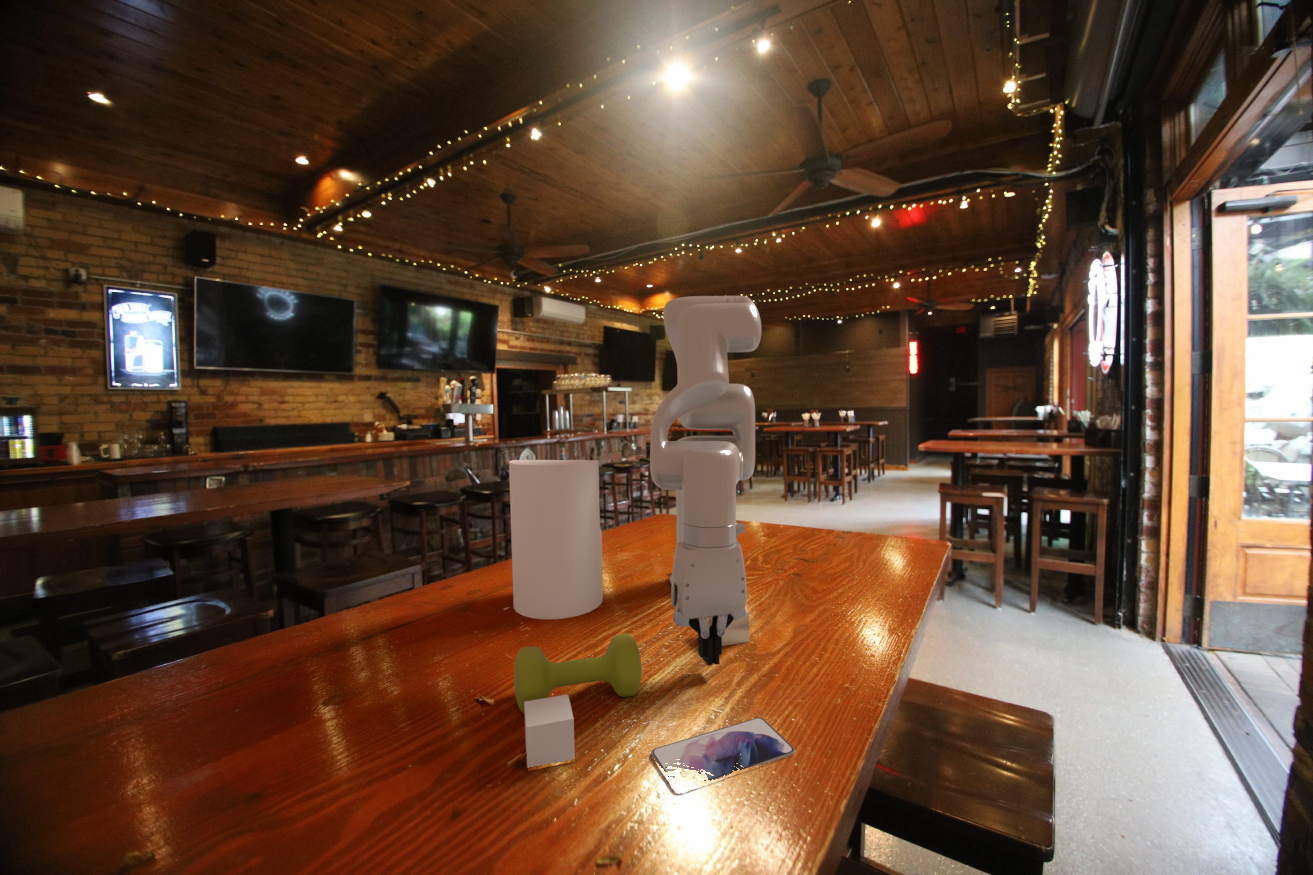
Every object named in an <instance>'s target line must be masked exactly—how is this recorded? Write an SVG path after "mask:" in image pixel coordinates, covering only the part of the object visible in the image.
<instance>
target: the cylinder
mask: <svg viewBox="0 0 1313 875" xmlns="http://www.w3.org/2000/svg"><path fill="white" fill-rule="evenodd" d="M599 463H600V462H599V460H597V459H596V460H595V459H594V460H593V459H592V460H591V459H585V460H583V459H579V460H578V459H512V460H509V461H508V472H509V474H508V475H509V501H510V502H509V503H510V504H509V505H510V533H511V538H510V539H511V559H512V560H511V565H512V569H511V570H512V595H513V596H512V599H513V602H512V603H513V609H514V611H515V612H516V613H518V614H520V616H521V615H522V616H523V617H526V618H530V619H538V620H560V619H561V620H562V619H568V618H574V617H578V616H581V615H586V614H588V613H590V612H593V610H594V611H595V609H597V608H599V607H600V605H601V604H603V601H604V594H603V593H604V588H603V586H604V584H603V581H604V580H603V541H602V539H603V537H602V536H603V535H602V532H603V531H602V529H601V525H600V523H601V520H600V519H601V518H600V517H601V515H600V514H601V512H600V508H601V507H600V471H599V468H600V466H599V465H600V464H599Z"/></svg>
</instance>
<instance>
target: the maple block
mask: <svg viewBox="0 0 1313 875" xmlns="http://www.w3.org/2000/svg"><path fill="white" fill-rule="evenodd" d="M745 611H746V615H745V616H744V617H742V618H739V619H737V620H733V621H732V622H731V624H730V625H729V626H728V627H727V628H726V630H725V634H724V635H723V636H722V647H724V646H731V645H737V644H744V643H749V642H750V612H749V611H748V610H747V609H746V608H745ZM710 622H711V617H708V627H709V628H710Z"/></svg>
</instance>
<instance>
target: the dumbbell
mask: <svg viewBox="0 0 1313 875" xmlns="http://www.w3.org/2000/svg"><path fill="white" fill-rule="evenodd" d="M640 654H641V653H640V649H639V646H638V644H637V641H636V640H635V639H634V636H632V635H631V634H630V633H620V634H617V635H615V636H613V637H612V639H611V640H610V642H609V644H608V647H607V650H606V651H605V653H603V654H602V655H599V656H597V657H596V656H595V657H586V658H577V659H572V660H566V661H561V662H552V661H551V660H549V659H548V658H547V657H546V655H545V654H544V652H543V651H542V649H541V648H540V647H537V646H534V645H533V646H525V647H524V646H523V647H521V648H520V649H519V650H518V652H517V653H516V656H515V663H514V694H515V699H516V703H517V706H518V708H519V710H520V712H522V714H525V710H524V702H525V701H531V700H537V699H543V698H548V696H549V694H550V693H551V692H552V691H553V690H555V689H556V688H561V687H568V686H573V685H580V684H586V683H593V682H595V683H596V682H599V681H604V682H606V683H608V684H609V685H610V686H611V687H612V689H613V691H614V692H615V693H616V695H618V696H619V697H623V698H625V697H632V696H635V695H637V694H638V692H639V689H640V687H641V682H642V661H641V655H640Z"/></svg>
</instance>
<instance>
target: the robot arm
mask: <svg viewBox="0 0 1313 875" xmlns="http://www.w3.org/2000/svg"><path fill="white" fill-rule="evenodd" d="M662 313H663V314H662V315H663V324H664V329H665V333H666V336H667V339H668V342H669V344H670V346H671V349H672V351H673V354H674V358H675V361H676V368H677V372H676V373H677V374H676V375H677V378H676V379H677V384H676V385H675V387H673V388H672V390H671V391H670V392H668V394H667V395H666V396H665V397H664V398H663V399H662V401H661V403H660V404H659V406H658V407H657V409H656V411H655V413H654V415H653V418H652V422H651V426H650V449H649V451H650V452H649V470H650V471H649V472H650V475H651V479H652V482H653V483H654V485H656V486H657V487H658V488H660V489H662V490H666V491H667V490H668V491H675V504H676V505H675V506H676V508H675V513H676V548H675V551H674V559H673V565H672V574H670V576H669V583H670V585H671V593H670V596H671V597H670V599H671V605H672V607H673V608H674V612H673V615H672V622H674V624H675V626H677V627H686V628H687V627H689V628H691V629H693V630H694V631H695V632H696V633H697V639H698V640H697V649H698V650H697V651H698V656H699V657H700V659H702V660H703V661H704V662H705V664H706V665H707V666H713V664H714V665H715V666H716V665H720V656H721V655H722V654H723V652H722V651H723V646H722V636H723V635H724V634H725V630H726V628H727V627H728V626H729V625H730V624H731V622H732V621H733V620H737V619H739V618H742V617H744V616H745V615H746V611H745V609H746V606H747V601H748V600H747V599H748V598H747V596H748V595H747V594H748V593H747V592H748V591H747V589H748V588H747V578H746V567H745V562H744V561H745V560H744V556H743V551H742V546H741V543H740V542H739V541H738V538H739V537H738V536H739V535H740V534H742V533H743V534H744V533H745V531H746V528H745V524H744V523H743V522H742V523H739V522H738V521H737V484H738V483H739V481H745V480H748V479H750V478H751V477H752V476H753V474H754V472H755V465H756V407H755V406H756V404H755V397H754V394H753V390H752V389H751V388H750V387H749V386H747V385H745V384H743V383H741V384H740V383H730V376H729V365H728V364H729V361H728V353H751V352H754V351H755V350H756V349H757V348H758V347H759V345H760V342H761V338H762V320H761V317H760V313H759V310H758V308H757V306H756V305H755V303H754V302H753V301H752V299H751V298H749V297H748V296H745V295H713V296H712V295H695V296H694V295H693V296H683V297H676V298H672V299H670V300H669V301H667V302H666V304H664V308H663V312H662ZM677 419H678V420H679V422H680V424H681V425H682V427H684V428H685V429H689V430H730V431H731V432H732V434H733V435H690V436H689V435H688V436H683V437H682V438H679V439H677V440H676V441H675V440H674V441H669V440H668V436H669V435H668V434H669V429H670V428H671V426H672V424H673V423H674V422H675V421H677ZM709 617H711V622H710V628H709V620H708V618H709Z"/></svg>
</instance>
